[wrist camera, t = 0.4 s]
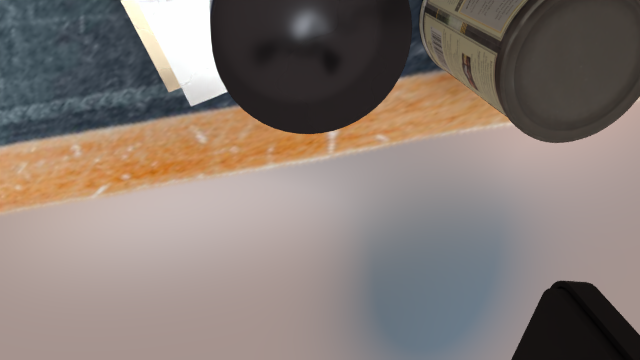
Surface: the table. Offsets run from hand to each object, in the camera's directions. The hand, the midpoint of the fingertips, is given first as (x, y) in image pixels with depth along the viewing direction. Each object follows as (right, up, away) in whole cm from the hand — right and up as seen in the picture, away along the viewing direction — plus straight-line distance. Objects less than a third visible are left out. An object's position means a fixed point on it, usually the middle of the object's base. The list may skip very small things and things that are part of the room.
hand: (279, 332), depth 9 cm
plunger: (-3, +13, +15) cm, 20 cm away
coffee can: (+13, +16, +35) cm, 41 cm away
